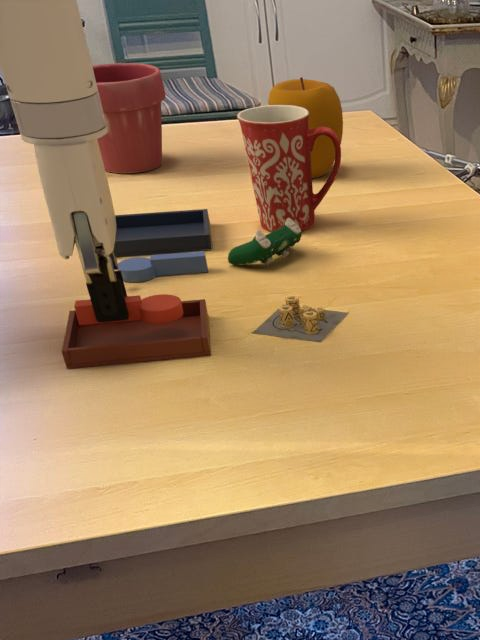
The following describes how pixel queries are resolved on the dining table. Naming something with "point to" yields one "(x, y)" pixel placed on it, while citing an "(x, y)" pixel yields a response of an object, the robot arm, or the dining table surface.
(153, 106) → the flower pot
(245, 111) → the mug
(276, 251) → the green elongated piece
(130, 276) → the blue spoon
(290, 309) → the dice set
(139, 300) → the red spoon
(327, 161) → the apple
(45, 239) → the dining table surface
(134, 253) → the blue tray
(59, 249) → the robot arm
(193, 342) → the red tray
